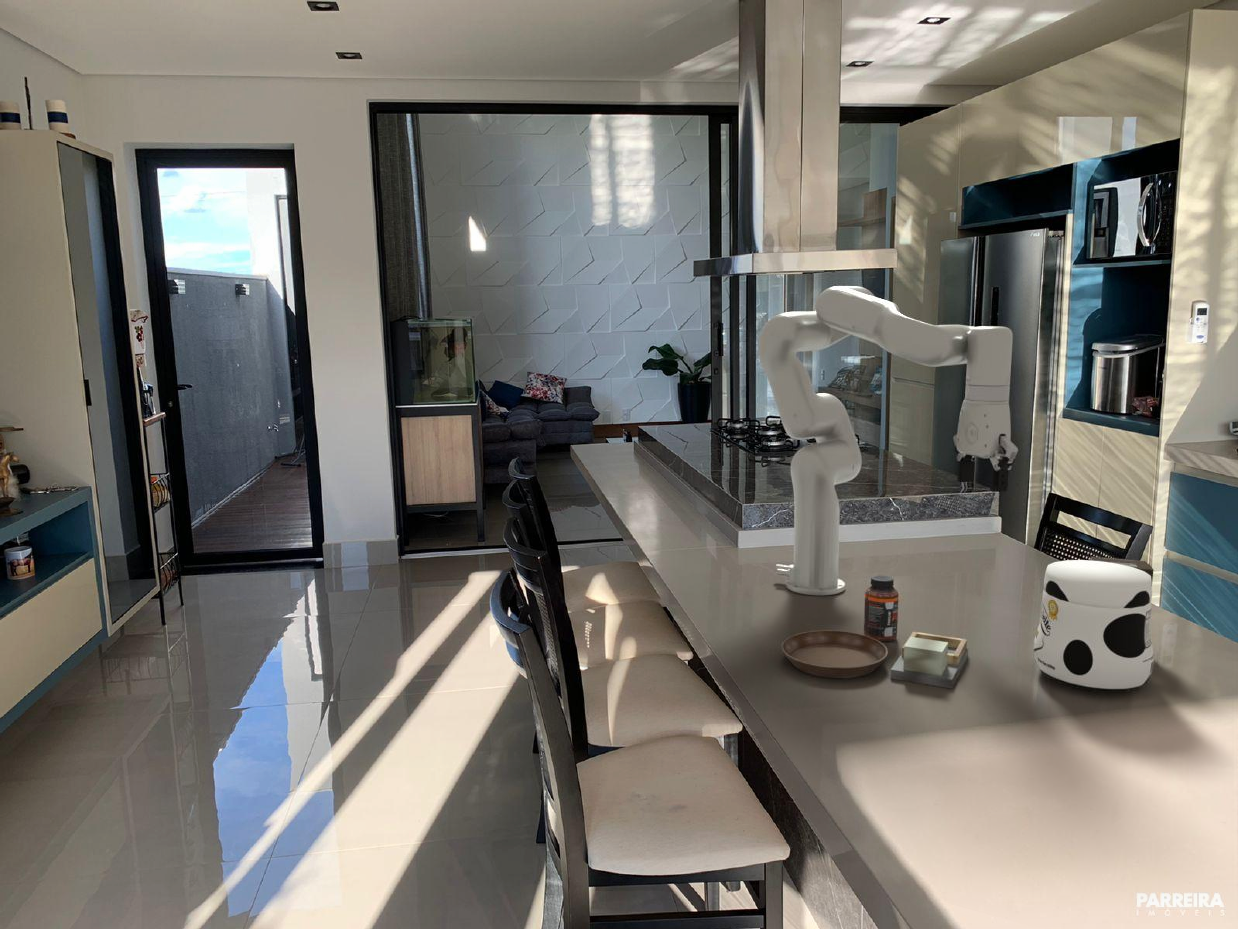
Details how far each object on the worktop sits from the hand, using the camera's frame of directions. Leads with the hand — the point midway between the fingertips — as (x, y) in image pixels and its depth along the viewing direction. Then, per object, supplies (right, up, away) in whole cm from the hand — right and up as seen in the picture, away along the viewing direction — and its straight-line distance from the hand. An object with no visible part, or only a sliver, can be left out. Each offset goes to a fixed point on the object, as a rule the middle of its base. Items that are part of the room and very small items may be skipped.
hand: (981, 486), depth 175 cm
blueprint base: (-15, -30, -16) cm, 37 cm away
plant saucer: (-31, -30, -13) cm, 45 cm away
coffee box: (+19, -29, -10) cm, 36 cm away
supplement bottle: (-19, -28, -1) cm, 34 cm away
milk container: (+9, -31, -22) cm, 39 cm away
